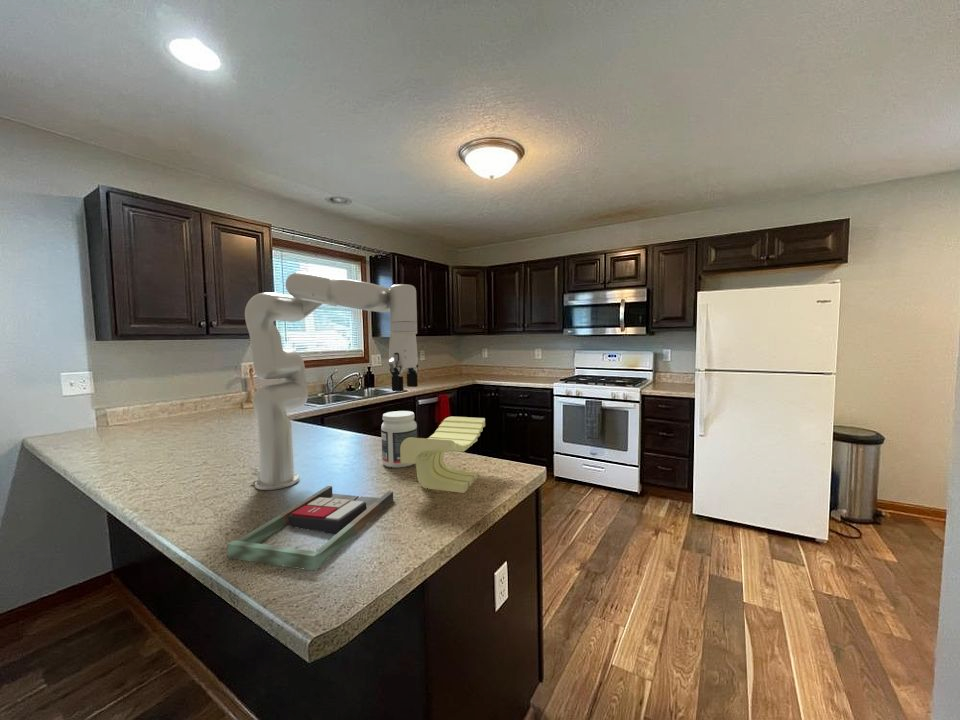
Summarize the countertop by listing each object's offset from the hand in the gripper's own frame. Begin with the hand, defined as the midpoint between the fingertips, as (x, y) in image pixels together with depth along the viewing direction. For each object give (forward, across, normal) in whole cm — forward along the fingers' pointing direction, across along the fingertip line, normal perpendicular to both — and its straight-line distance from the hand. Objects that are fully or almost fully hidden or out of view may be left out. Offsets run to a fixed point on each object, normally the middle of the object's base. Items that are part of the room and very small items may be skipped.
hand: (405, 388), depth 111 cm
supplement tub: (+31, -26, -15) cm, 43 cm away
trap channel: (+31, +21, -13) cm, 40 cm away
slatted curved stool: (+31, -12, +8) cm, 35 cm away
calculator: (+32, +19, -13) cm, 39 cm away
